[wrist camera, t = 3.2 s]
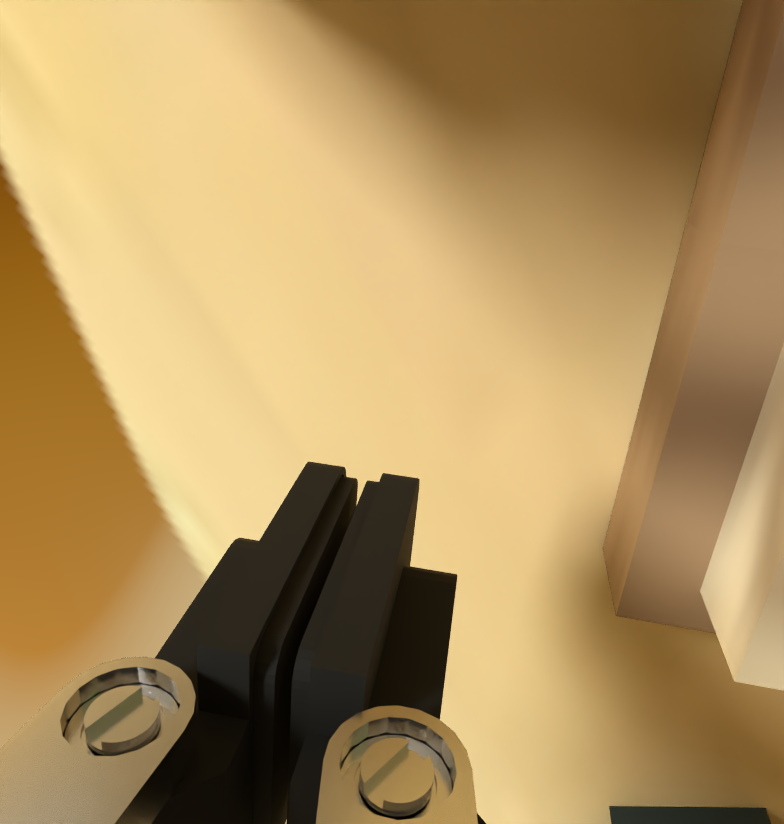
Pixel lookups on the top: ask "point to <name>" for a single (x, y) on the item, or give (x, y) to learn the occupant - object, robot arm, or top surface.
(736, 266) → the box
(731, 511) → the birch block
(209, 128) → the top surface
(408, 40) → the top surface
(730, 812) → the watch
